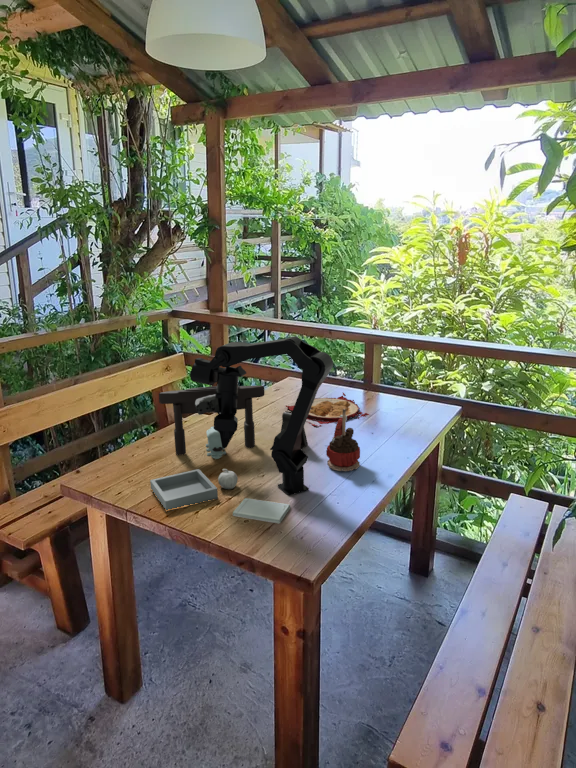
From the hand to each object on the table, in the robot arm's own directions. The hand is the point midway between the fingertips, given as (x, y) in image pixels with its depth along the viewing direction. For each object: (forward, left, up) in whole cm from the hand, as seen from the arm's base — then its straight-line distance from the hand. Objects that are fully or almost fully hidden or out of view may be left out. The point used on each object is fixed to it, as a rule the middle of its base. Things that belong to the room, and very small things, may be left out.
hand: (224, 440), depth 155 cm
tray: (-4, +14, -11) cm, 18 cm away
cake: (-11, -33, -11) cm, 37 cm away
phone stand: (+9, -27, -11) cm, 31 cm away
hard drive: (-23, 0, -12) cm, 26 cm away
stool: (+21, -5, -11) cm, 24 cm away
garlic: (-6, +2, -11) cm, 13 cm away
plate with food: (+33, -57, -12) cm, 67 cm away
